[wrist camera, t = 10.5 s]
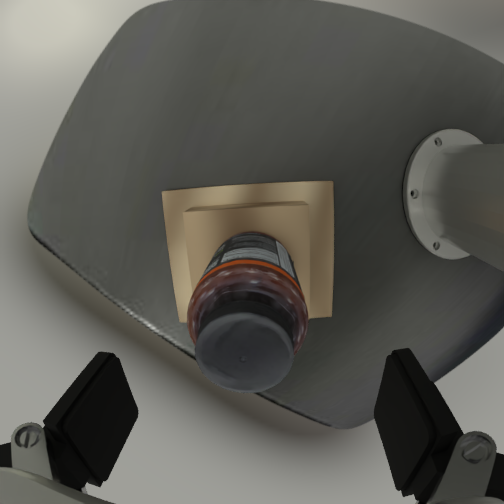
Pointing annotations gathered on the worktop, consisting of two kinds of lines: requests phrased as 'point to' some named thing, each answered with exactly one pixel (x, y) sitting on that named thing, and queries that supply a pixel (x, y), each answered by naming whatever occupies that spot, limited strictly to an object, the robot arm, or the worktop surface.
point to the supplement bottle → (248, 314)
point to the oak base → (255, 193)
